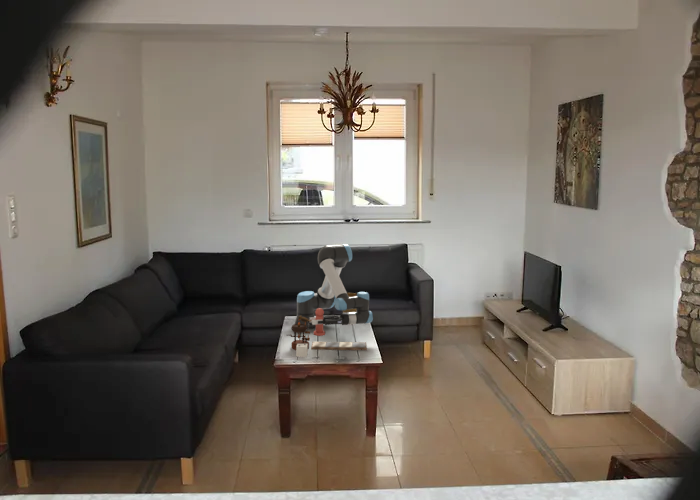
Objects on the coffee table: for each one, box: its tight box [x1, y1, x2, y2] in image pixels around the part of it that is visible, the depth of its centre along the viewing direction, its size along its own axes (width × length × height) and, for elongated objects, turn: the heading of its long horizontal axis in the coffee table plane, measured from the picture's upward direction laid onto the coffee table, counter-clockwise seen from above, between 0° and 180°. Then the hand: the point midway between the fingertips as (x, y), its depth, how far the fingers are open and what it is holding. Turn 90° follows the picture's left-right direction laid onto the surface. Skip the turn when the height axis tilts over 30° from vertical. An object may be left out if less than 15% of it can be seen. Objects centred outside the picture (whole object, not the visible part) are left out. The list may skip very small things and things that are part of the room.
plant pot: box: [342, 292, 357, 313], centre depth 433 cm, size 15×15×16 cm
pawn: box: [313, 308, 326, 337], centre depth 356 cm, size 7×7×16 cm
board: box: [310, 341, 368, 351], centre depth 358 cm, size 33×12×2 cm, turn 90°
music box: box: [286, 316, 312, 351], centre depth 353 cm, size 15×11×20 cm
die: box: [295, 344, 308, 358], centre depth 341 cm, size 6×6×6 cm
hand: (311, 321), depth 354 cm, fingers closed on pawn, 4 cm apart
